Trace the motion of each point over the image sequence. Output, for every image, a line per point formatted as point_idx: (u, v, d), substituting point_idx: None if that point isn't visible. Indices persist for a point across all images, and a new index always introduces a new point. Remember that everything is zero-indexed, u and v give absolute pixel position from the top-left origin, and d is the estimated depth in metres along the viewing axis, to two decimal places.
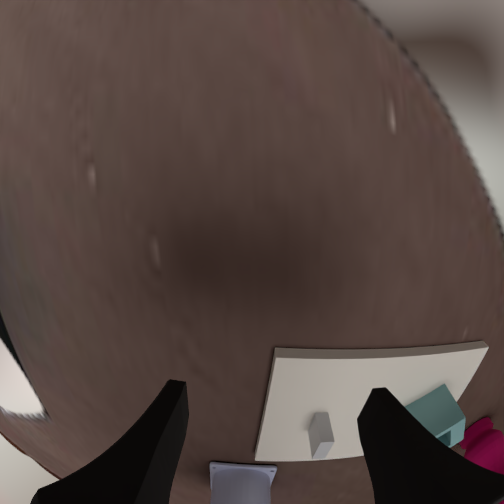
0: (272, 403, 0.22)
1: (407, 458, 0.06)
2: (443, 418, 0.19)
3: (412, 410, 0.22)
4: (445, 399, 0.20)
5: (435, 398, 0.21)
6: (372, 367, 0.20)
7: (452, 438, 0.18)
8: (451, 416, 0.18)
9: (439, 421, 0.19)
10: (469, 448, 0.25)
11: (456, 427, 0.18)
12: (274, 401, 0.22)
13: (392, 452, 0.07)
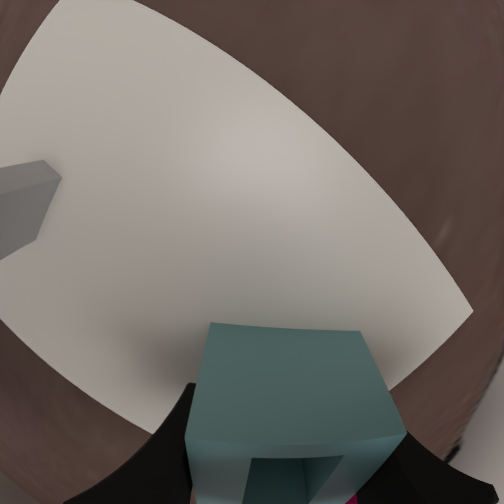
0: (9, 88, 0.07)
1: (387, 462, 0.06)
2: (335, 404, 0.07)
3: (251, 341, 0.09)
4: (354, 361, 0.09)
5: (326, 347, 0.09)
6: (206, 76, 0.07)
7: (326, 488, 0.07)
8: (362, 410, 0.07)
9: (318, 406, 0.07)
10: None
11: (361, 459, 0.06)
12: (13, 83, 0.07)
13: None
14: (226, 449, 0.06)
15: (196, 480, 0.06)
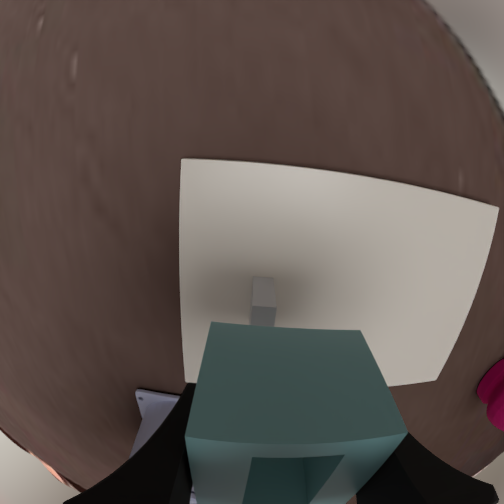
0: (186, 250, 0.17)
1: (387, 462, 0.06)
2: (336, 404, 0.07)
3: (251, 340, 0.09)
4: (354, 360, 0.09)
5: (326, 346, 0.09)
6: (325, 188, 0.15)
7: (327, 488, 0.07)
8: (363, 410, 0.07)
9: (319, 406, 0.07)
10: (493, 397, 0.20)
11: (361, 459, 0.06)
12: (188, 246, 0.17)
13: None
14: (226, 448, 0.06)
15: (196, 480, 0.06)
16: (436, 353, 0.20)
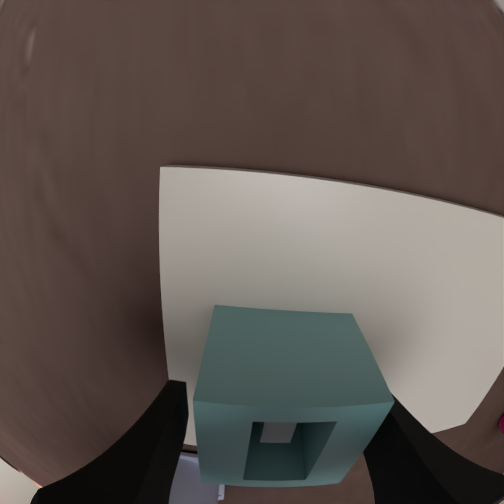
0: (172, 301, 0.11)
1: (407, 458, 0.06)
2: (328, 375, 0.08)
3: (251, 320, 0.11)
4: (345, 339, 0.10)
5: (320, 326, 0.10)
6: (377, 215, 0.10)
7: (322, 460, 0.08)
8: (352, 380, 0.08)
9: (313, 376, 0.08)
10: None
11: (353, 427, 0.07)
12: (174, 296, 0.11)
13: (391, 452, 0.07)
14: (229, 412, 0.07)
15: (201, 450, 0.08)
16: (471, 399, 0.14)
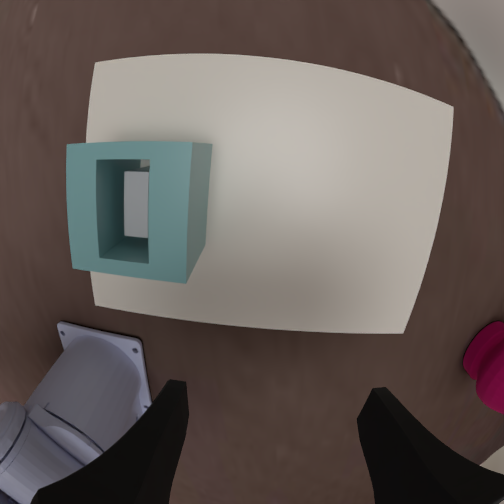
0: None
1: (407, 458, 0.06)
2: None
3: None
4: None
5: None
6: (223, 69, 0.13)
7: (153, 223, 0.11)
8: None
9: None
10: (483, 367, 0.18)
11: (165, 171, 0.10)
12: (93, 140, 0.14)
13: (392, 452, 0.07)
14: (84, 152, 0.10)
15: (69, 205, 0.11)
16: (397, 291, 0.17)
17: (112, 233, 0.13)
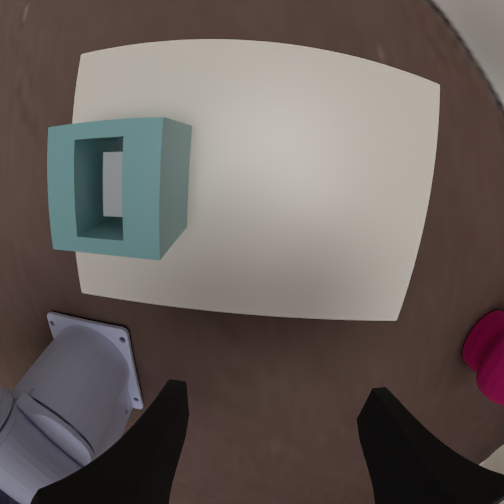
0: None
1: (407, 458, 0.06)
2: None
3: None
4: None
5: None
6: (202, 54, 0.13)
7: (126, 199, 0.11)
8: None
9: None
10: (483, 357, 0.17)
11: (138, 146, 0.10)
12: None
13: (392, 452, 0.07)
14: (64, 133, 0.10)
15: (49, 186, 0.10)
16: (388, 275, 0.17)
17: (91, 214, 0.12)
